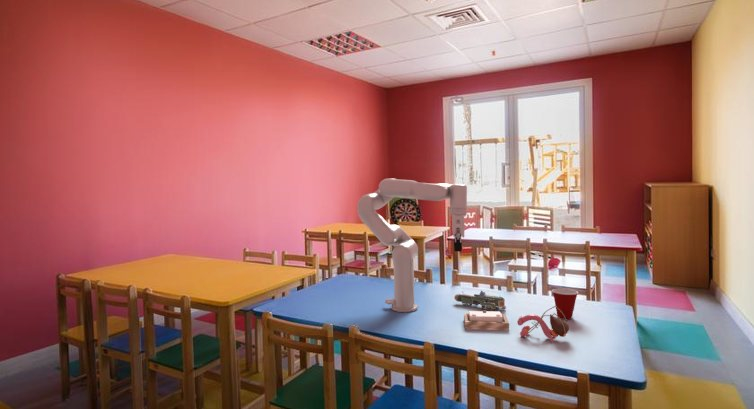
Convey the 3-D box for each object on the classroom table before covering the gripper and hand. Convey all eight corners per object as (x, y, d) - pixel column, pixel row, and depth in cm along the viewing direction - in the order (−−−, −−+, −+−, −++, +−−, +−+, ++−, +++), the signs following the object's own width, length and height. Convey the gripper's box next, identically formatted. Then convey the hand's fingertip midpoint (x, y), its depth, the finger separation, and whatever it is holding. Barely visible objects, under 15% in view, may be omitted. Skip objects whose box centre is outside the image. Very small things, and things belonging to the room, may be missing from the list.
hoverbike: (502, 314, 193) (502, 296, 193) (450, 306, 206) (450, 289, 205) (508, 308, 201) (508, 291, 201) (457, 301, 214) (457, 284, 214)
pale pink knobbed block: (499, 320, 182) (499, 310, 182) (502, 326, 176) (502, 315, 176) (468, 320, 184) (468, 310, 183) (470, 325, 177) (470, 315, 177)
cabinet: (465, 329, 176) (465, 321, 175) (464, 319, 186) (464, 312, 186) (509, 330, 173) (509, 322, 173) (505, 321, 184) (505, 313, 183)
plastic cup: (576, 314, 190) (577, 287, 190) (579, 322, 180) (580, 294, 179) (550, 312, 194) (550, 286, 193) (552, 320, 184) (552, 292, 183)
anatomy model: (514, 319, 175) (543, 293, 169) (543, 348, 171) (574, 322, 165) (509, 329, 165) (540, 301, 159) (540, 360, 161) (573, 332, 155)
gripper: (467, 213, 182) (466, 253, 183) (465, 209, 199) (465, 246, 200) (449, 213, 183) (449, 252, 185) (449, 209, 200) (449, 245, 202)
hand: (457, 249), depth 192 cm, fingers open, 9 cm apart
